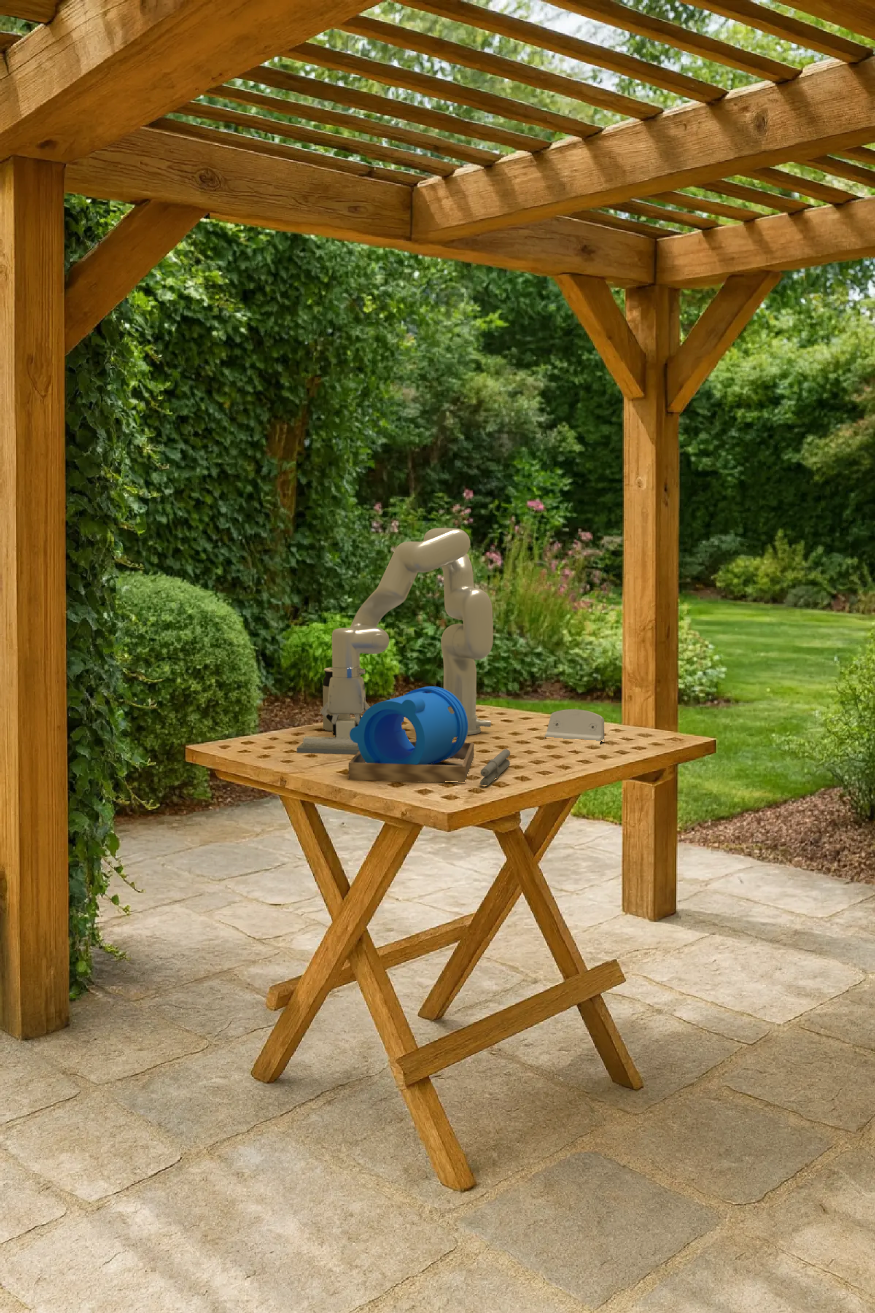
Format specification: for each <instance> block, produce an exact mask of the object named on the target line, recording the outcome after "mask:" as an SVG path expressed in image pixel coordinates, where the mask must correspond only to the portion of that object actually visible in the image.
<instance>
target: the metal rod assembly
mask: <svg viewBox="0 0 875 1313" xmlns="http://www.w3.org/2000/svg"><path fill="white" fill-rule="evenodd" d="M510 756H511V751H510V750H509V749H508V748H505V749H503V750H502V751H501V752H499V754H497V755H495V757H494V758H492V759H490V760H488V762H487V764H486V765H485V766H483V768H482V769H480V775H481V776H482V777H483V778H482V779H481V780H480V783H479V784H480V786H481V785H488V786H489V785H490V784H491V783H492V782H493V781H495V780H494V779H495V778H497V777H498V778H499V776H500V775H501V774H502V773H503V772H504V771H505V770H506V769H507V768H508V767H509V766H510V764H511V761H510V760H509V759H508V758H509V757H510ZM498 778H497V779H498Z"/></svg>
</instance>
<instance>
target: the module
mask: <svg viewBox="0 0 875 1313" xmlns="http://www.w3.org/2000/svg"><path fill="white" fill-rule="evenodd" d="M355 725H356V719H355V717H350V718H340V719H338V720H337V721H336V737H345V738H350V731H351V729H352V728H354V727H355Z"/></svg>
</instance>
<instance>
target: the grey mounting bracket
mask: <svg viewBox="0 0 875 1313" xmlns="http://www.w3.org/2000/svg"><path fill="white" fill-rule="evenodd" d="M545 737H554V738H563V739H584V740H596V741H601V740H603V739H604V740H605V719H604V717H603V716H601V715H600V714H597V713H595V712H592V711H589V710H586V709H585V710H584V709H577V708H576V709H574V708H573V709H571V708H570V709H569V708H567V709H562V710H556V711H553V712H552V713H551V714H550V716H549V721H548V725H547V728H546V732H545V735H544V738H545Z"/></svg>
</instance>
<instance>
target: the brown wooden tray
mask: <svg viewBox="0 0 875 1313" xmlns="http://www.w3.org/2000/svg"><path fill="white" fill-rule="evenodd" d="M409 741H410V742H411V744H412V745H413V746H414V747H415V745H416V740H409ZM453 742H454V741H452V743H453ZM474 755H475V742H466V741H465V742H464V744H463V746H462V748H461V749H460V750H459V751H458V752H457V753H456V754H455V755H454V756H452V757H450V758H449V759H464V760H463V761H462V765H447V764H446V765H445V764H427V765H419V764H418V765H413V764H387V763H366V762H365V760H364V759H363V757H362V755H361V753H360V751H359V752H358V753H357V754H354V756H353V757H352V759H350V761H349V762H348V780H350V781H375V782H378V781H379V782H381V781H385V782H406V781H407V782H411V783H412V782H413V783H415V782H416V783H419V782H418V781H422V782H421V783H437V782H445V781H458V782H465V780H466V781H467V779H466V777H467V778H468V776H467V774H468V775H469V773H470V770H469V769H471V767H472V764H473V762H472V761H474V759H473V758H474V757H475V756H474ZM471 763H472V764H471ZM470 766H471V767H470ZM468 772H469V773H468ZM465 783H466V782H465Z"/></svg>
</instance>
